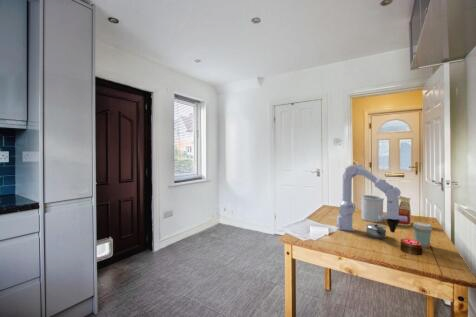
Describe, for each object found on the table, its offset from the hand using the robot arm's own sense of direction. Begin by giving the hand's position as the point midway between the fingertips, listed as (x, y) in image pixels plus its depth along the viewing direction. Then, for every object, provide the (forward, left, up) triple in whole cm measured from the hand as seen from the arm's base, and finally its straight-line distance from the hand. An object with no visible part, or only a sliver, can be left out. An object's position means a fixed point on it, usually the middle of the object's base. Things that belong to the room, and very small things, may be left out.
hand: (392, 231), depth 134 cm
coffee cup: (+13, -3, -6) cm, 15 cm away
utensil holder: (+5, +44, -6) cm, 44 cm away
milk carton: (+23, +37, -6) cm, 44 cm away
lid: (-6, +6, -1) cm, 8 cm away
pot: (-5, +7, -6) cm, 11 cm away
